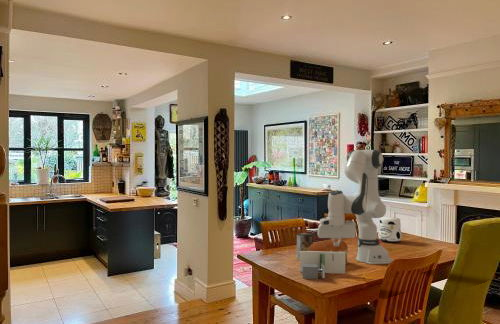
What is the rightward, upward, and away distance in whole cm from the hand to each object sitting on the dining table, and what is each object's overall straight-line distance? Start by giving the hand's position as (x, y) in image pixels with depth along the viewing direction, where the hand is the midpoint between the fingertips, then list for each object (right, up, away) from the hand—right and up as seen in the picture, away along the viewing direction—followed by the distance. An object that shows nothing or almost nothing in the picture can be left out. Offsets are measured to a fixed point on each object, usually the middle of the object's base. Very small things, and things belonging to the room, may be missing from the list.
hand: (336, 245), depth 202 cm
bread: (+1, -18, +26) cm, 32 cm away
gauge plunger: (-12, -17, +3) cm, 21 cm away
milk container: (+64, -17, +92) cm, 113 cm away
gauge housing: (-6, -17, +4) cm, 19 cm away
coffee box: (-12, -17, +39) cm, 44 cm away
